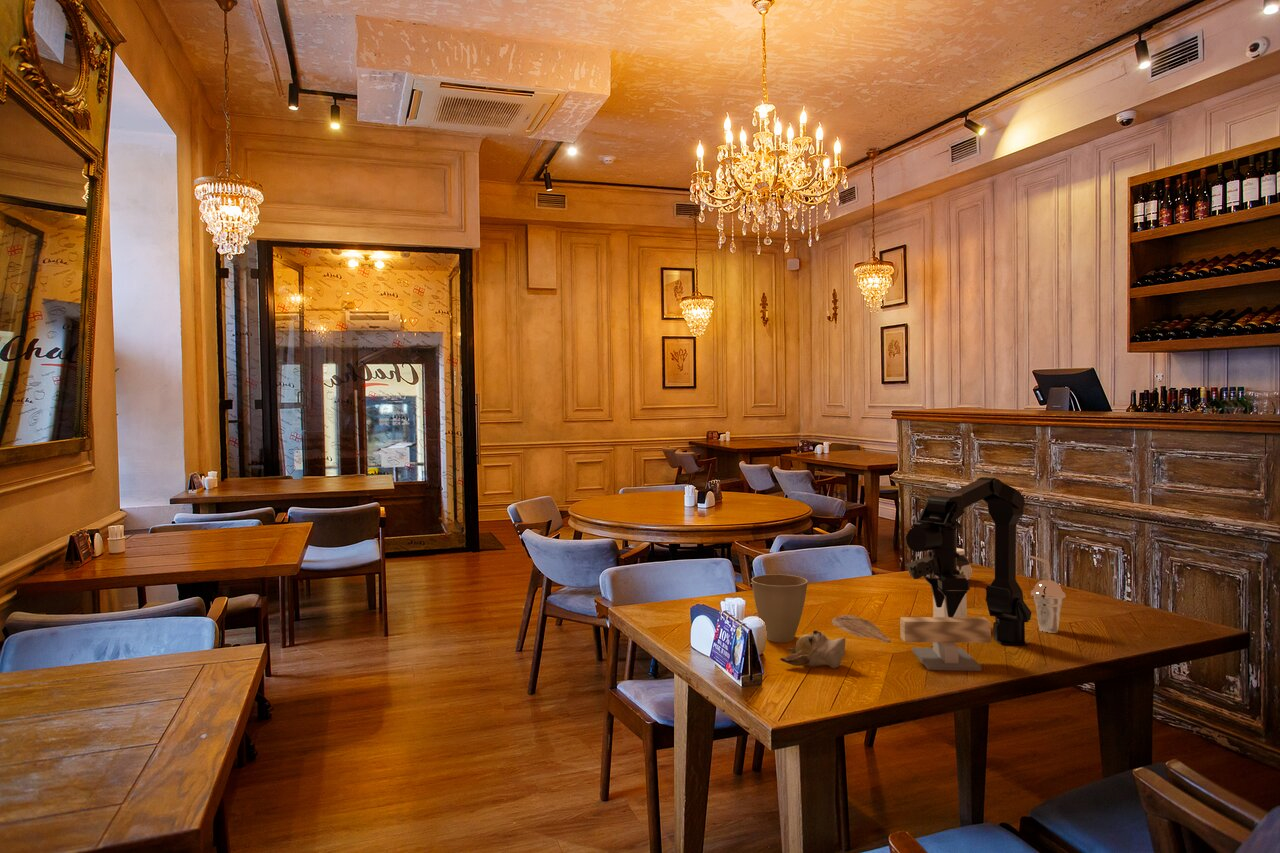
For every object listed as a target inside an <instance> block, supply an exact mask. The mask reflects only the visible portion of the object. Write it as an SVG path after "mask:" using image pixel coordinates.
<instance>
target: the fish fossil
mask: <svg viewBox="0 0 1280 853" xmlns="http://www.w3.org/2000/svg"><path fill="white" fill-rule="evenodd" d="M831 625H832V626H835V627H837V628H838V629H840V630H842V631H845V632H847V633H849V634H851V635H852V636H853V635H854V636H856V637H859V638H861V639H862V640H864V637H865V638H869V639H870V638H871V639H876V640H878V641H880V642H882V643H891V641H892V640H891V639H890V638H889V637H888V636H887V635H885V634H884V633H883V632H882V630H880V628H878V627H877V626H876V625H875V624H874V623H873V622H871V621H870V620H867V619H864V618H862V617H859V616H856V615H851V614H843V615H839V616H836V617H833V619H832V620H831Z"/></svg>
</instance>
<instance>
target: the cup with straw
mask: <svg viewBox="0 0 1280 853" xmlns="http://www.w3.org/2000/svg"><path fill="white" fill-rule="evenodd" d="M1027 558H1029V559H1032V560H1036V561H1040V562H1043V563H1045V564H1046V579H1043V580H1039V581H1038V582H1037V583H1036V584H1035V585H1034V587H1033V589H1031V590H1030V595H1031V596H1033V600H1034V604H1035V610H1036V611H1035V612H1036V618H1037V624H1038V626H1039V628H1038V631H1040V632H1042V631H1043V633H1046V632H1048V634H1056V633H1059V630H1058V629H1059V625H1060V616H1061V609H1062V604H1063V599H1065V598H1066V597H1067V596H1066V593H1065V592H1064V591H1063V589H1062V587H1061V586H1060V585H1059V583H1058V582H1055V581H1054V580H1051V579H1050V578H1051V576H1050V575H1051V574H1050V572H1051V570H1050V569H1051V567H1050V562H1049V561H1048V560H1047V559H1044V558H1041V557H1036V556H1034V555H1030V554H1029V555H1028V557H1027Z"/></svg>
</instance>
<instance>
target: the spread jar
mask: <svg viewBox="0 0 1280 853" xmlns="http://www.w3.org/2000/svg"><path fill="white" fill-rule="evenodd" d="M957 553H959V558H957V570H959V571H960V575H961V576H963V577H964V578H966V579H967V580H968V581H970V579H971V576H972V574H973V569H972V567H971V563H970V561H969V558H968V557H967V556H966V555H965V553H966V552H965V549H963V548H960V547H957Z"/></svg>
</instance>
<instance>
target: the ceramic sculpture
mask: <svg viewBox="0 0 1280 853" xmlns="http://www.w3.org/2000/svg"><path fill="white" fill-rule="evenodd" d="M786 650H787V651H789V652H790V653H791V654H789V655H787V656H786V657H781V658H779V660H780V661H782V662H783V663H786V664H789V665H791V666H794V667H795V666H796V667H799V666H807V667H819V666H821V665H828V666H830V668H832V669H837V668H839V667H840V665H841V662H842V659H843V657H844V655H845V653H846V652H845V650H846V637H842V638H836V639H829V638H827V636H826V635H825V634H824V633H822V632H821V631H819V630H813V631H812V634H804V635H802V636H800V637H799V638H798V640H796V643H795V647H793V648H792V647H787V648H786Z"/></svg>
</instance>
